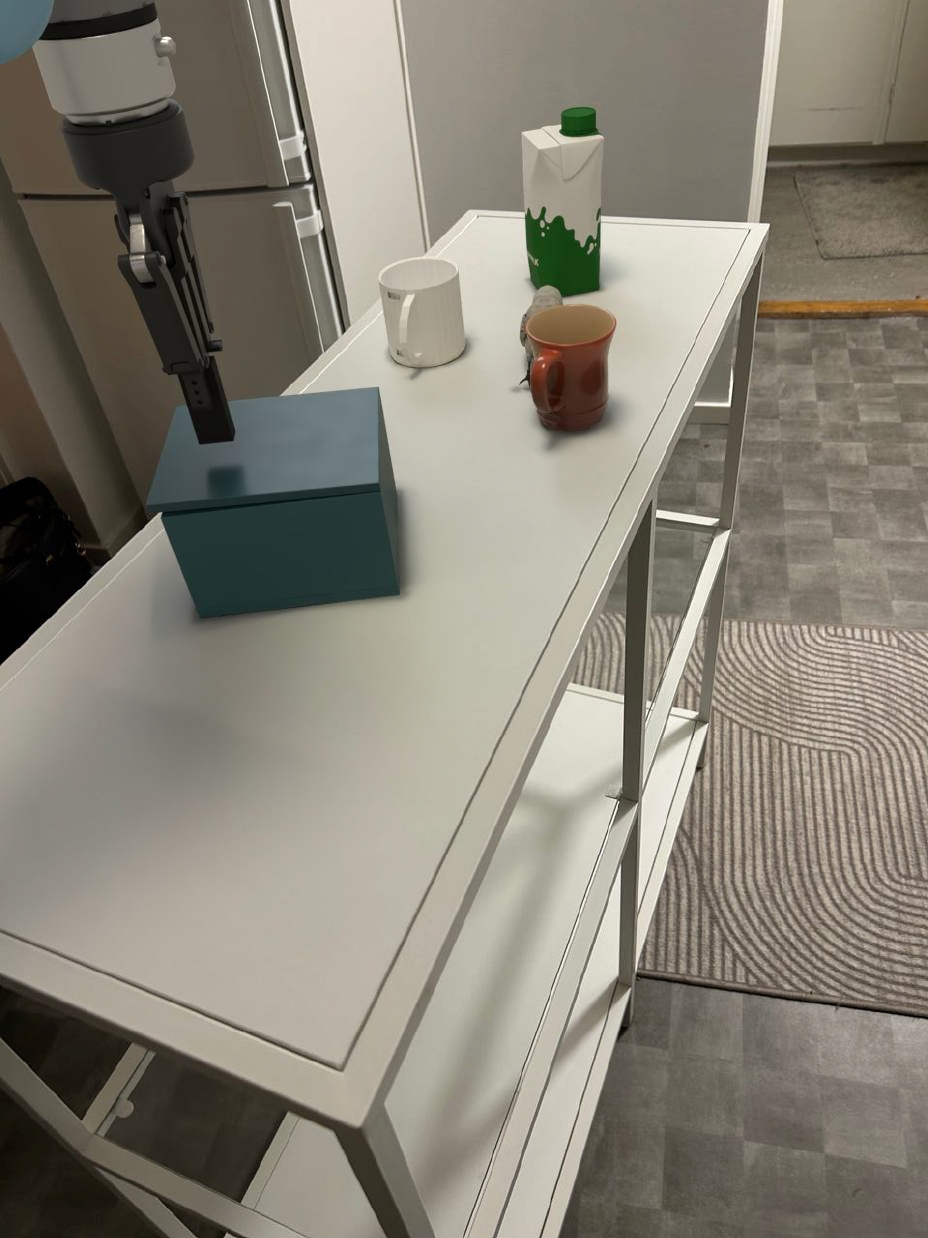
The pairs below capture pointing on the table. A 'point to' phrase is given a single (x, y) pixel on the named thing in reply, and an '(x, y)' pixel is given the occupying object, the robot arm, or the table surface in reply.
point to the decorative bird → (542, 301)
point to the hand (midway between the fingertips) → (217, 437)
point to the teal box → (290, 549)
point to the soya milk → (564, 202)
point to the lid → (273, 452)
